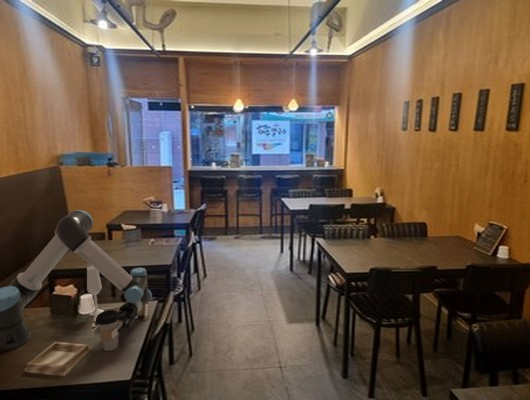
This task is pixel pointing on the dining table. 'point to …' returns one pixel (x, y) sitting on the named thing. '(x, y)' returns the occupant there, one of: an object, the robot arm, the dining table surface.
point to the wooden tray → (58, 359)
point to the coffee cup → (108, 328)
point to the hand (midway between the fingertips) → (102, 334)
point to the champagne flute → (94, 287)
